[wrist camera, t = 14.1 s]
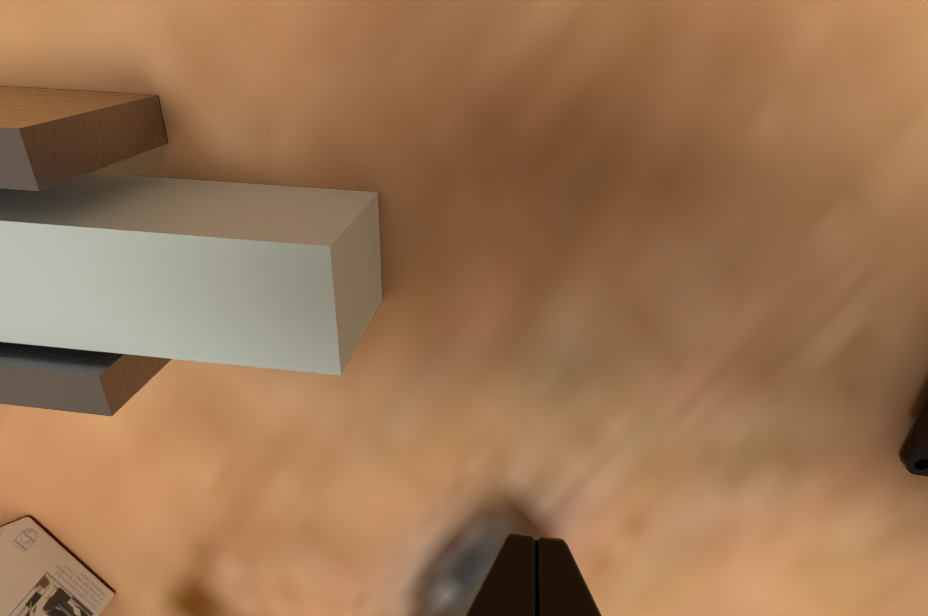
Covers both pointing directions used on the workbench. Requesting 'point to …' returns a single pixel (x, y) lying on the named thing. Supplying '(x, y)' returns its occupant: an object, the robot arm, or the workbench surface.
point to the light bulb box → (44, 576)
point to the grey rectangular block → (191, 270)
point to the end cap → (42, 166)
